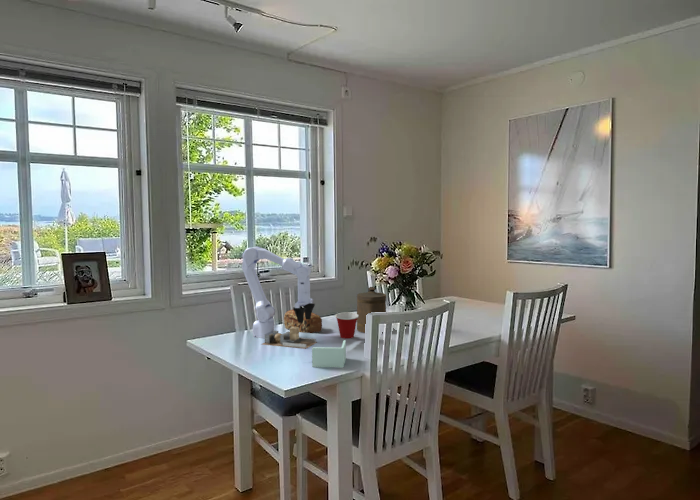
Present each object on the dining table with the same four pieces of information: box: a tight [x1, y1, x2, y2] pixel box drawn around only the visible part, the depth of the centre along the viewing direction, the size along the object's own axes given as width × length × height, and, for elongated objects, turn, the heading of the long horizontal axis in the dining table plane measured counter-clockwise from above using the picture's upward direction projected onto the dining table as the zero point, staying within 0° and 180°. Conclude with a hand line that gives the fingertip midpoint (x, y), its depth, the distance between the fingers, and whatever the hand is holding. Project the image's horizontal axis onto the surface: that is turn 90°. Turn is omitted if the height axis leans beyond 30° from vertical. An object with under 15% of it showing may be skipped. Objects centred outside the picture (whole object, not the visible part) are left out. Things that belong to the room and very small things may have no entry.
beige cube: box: [280, 327, 302, 344], centre depth 219 cm, size 7×7×7 cm
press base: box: [261, 330, 318, 350], centre depth 220 cm, size 22×12×6 cm, turn 68°
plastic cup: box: [335, 311, 358, 340], centre depth 230 cm, size 11×11×12 cm
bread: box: [283, 308, 323, 334], centre depth 251 cm, size 19×11×10 cm, turn 45°
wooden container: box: [356, 286, 387, 334], centre depth 249 cm, size 15×15×22 cm
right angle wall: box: [311, 339, 347, 368], centre depth 195 cm, size 12×12×8 cm
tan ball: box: [274, 332, 283, 343], centre depth 222 cm, size 4×4×4 cm
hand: (304, 320), depth 229 cm, fingers open, 7 cm apart
